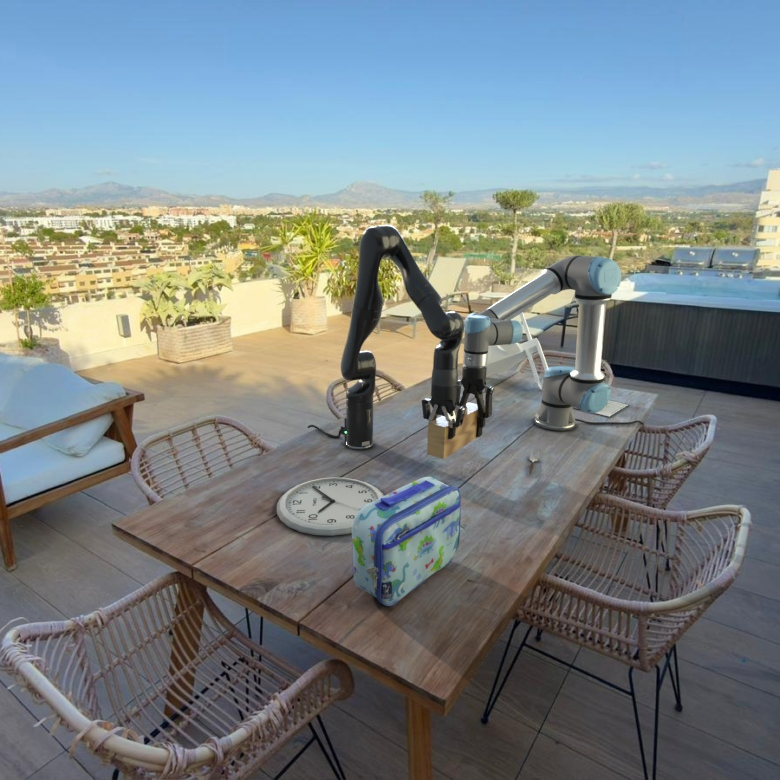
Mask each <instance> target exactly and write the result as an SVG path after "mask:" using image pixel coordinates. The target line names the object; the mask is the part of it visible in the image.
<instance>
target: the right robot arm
mask: <svg viewBox="0 0 780 780" xmlns="http://www.w3.org/2000/svg"><path fill="white" fill-rule="evenodd" d="M621 281H622V272H621V268H620V266H619V264H618V263H617V262H616V261H615V260H613V259H612V258H609V257H603V256H588V255H572V256H571V255H570V256H568V257H565V258H563V259H561V260H559V261H556V262H555V263H553V264H551V265H550V266H548V267H546V268H545V269H543V270H541V272H540V274H539V275H538V276H537V277H535V278H534V279H532V280H531V281H529V282H528V283H526V284H524V285H522V286H521V287H519V288H518V289H516V290H514V291H513V292H512V293H510V294H509V295H506V296H505V297H503V298H502V299H500V300H499V301H497V302H495V303H494V304H493V305H491V306H489V307H487V308H486V309H484V310H482V311H481V312H472V313H469V314H468V315H466V317H465V318H464V320H463V322H464V335H463V337H464V339H463V355H462V364H463V365H462V370H461V371H462V372H461V379H458V384H457V398H456V403H457V405H458V406H462V405H464V404H466V403H468V399H469V396H470V395H471V394H472V395H474V398H475V400H476V404H477V406H478V411H479V416H480V417H479V418H477V430H476V437H478V438H480V437H481V436H483V431H482V428H485V426H486V421H487V420H486V419H489V418H490V417H492V416H493V394H494V391H495V387H494V386H489V385H488V384H487V381H486V379H487V375H486V371H487V367H486V365H487V356H488V347H489V346H494V345H507V344H508V345H510V344H514V343H520V341H521V340H522V338H523V332H524V331H523V330H524V329H523V325H522V324H521V322H520V321H518V320H513V319H515V318H516V317H517V316H520V313H522V312H523V313H524V312H525V311H527V310H528V309H530V308H532V307H533V306H534V305H536V304H538V303H539V302H542V300H544V299H546V298H547V297H549V296H550V295H558V294H559V293H561V292H563V291H567V290H568V291H569V290H571V291H572V290H573V291H574V299H575V300H576V301H577V302H578V312H577V313H578V314H577V315H578V316H577V317H578V318H577V330H576V331H577V332H576V346H575V362H574V363H575V364H574V366H566V365H565V366H564V365H559V366H558V365H557V366H550V367H549V366H548V368H547V369H546V370H544V375H543V381H542V389H541V391H542V392H541V402H540V405H539V407H538V410H537V411H536V413H535V415H534V424H535V425H536V426H537V427H539V428H542V429H544V430H549V431H556V432H567V431H572V430H574V429H575V428H576V422H580V423H583V424H588V425H632V424H637V423H639V424H640V425H644V422H642V421H641V420H633V421H625V422H624V421H622V422H621V421H618V422H616V421H615V422H614V421H599V422H597V421H596V422H594V421H587V420H584V419H579V418H575V417H576V416H575V413H574V409H576V408H577V409H576V410H579V411H581V412H583V413H588V414H596V412H599V411H600V410H602V409H603V408H604V407H605V406H606V405H607V403H608V401H609V400H610V399H611V396H612V390H611V387H610V386H609V385H608V383H605V379H606V374H605V373H604V372H603V371H602V370H601V369H602V361H603V360H602V358H603V347H604V334H605V333H604V332H605V322H606V321H605V320H606V310H607V303H608V302H609V301H610V300H611V299H612V297H613V294H614V293H615V292H617V290H618V288H619V287H620V286H621ZM462 387H463V391H462ZM483 391H484V392H483ZM461 392H462V394H461ZM484 393H485V395H484ZM484 396H485V397H484ZM574 407H575V408H574Z"/></svg>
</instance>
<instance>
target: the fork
mask: <svg viewBox="0 0 780 780" xmlns="http://www.w3.org/2000/svg"><path fill="white" fill-rule="evenodd" d="M538 460H539V453H537V452H535V451H533V450H531V452H530V456H529V461H531V463H530V465H529V475H531V474H532V472H533V470H534V462H538Z"/></svg>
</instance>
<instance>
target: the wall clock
mask: <svg viewBox="0 0 780 780" xmlns="http://www.w3.org/2000/svg"><path fill="white" fill-rule="evenodd" d="M383 496H385V494H384V493H383V492H382V491H381V490H380V489H379V488H377V487H376V486H374V485H372V484H371V483H369V482H365V481H362V480H359V479H355V478H349V477H338V476H337V477H335V476H333V477H332V476H331V477H322V478H317V479H312V480H307V481H305V482H302V483H299V484H297V485H295V486H293V487H292V488H290V489H288V490H287V491H286V492H285V493H284V494H283V495H281V496H280V498H279V499H278V502H277V503H276V515H277V517H278V518H279V520H280V521H281V522H282V523H283V524H285V525H286V526H287V527H288V528H290V529H293V530H295V531H297V532H299V533H303V534H308V535H312V536H327V537H328V536H329V537H331V536H332V537H333V536H342V535H350V534H352V526H353V521H354V518H355V516H356V515H357V513H358V512H359V510H360V509H361V508H362V507H364V506H365V505H367V504H369V503H371V502H373V501H375V500H377V499H379V498H381V497H383Z"/></svg>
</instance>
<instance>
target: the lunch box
mask: <svg viewBox="0 0 780 780" xmlns="http://www.w3.org/2000/svg"><path fill="white" fill-rule="evenodd" d="M461 499H462V497H461V491H460V489H459V488H458V487H457V486H455V485H450V486H449V485H447V484H445V483H444V482H442V481H440V480H438V479H436V478H434V477H432V476H424V477H421V478H419V479H416V480H414V481H412V482H410V483H407V484H405V485H404V486H401V487H399V488H397V489H395V490H392V491H391V492H390V493H386V494H384V496H383V497H381V498H379V499H377V500H375V501H373V502H371V503H369V504H367V505H365V506H364V507H362V508H361V509H360V510H359V512H358V513H357V515H356V516H355V518H354V521H353V526H352V533H351V550H352V576H353V581H354V584H355V587H356V588H358V589H360V590H362V591H364V592H366V593H368V594H370V596H372V597H374V598H375V599H377V601H378V603H379V604H382V605H383V606H385V607H393V606H394V605H396V604H397V603H399V602H400V601H402V599H404V598H405V597H406V596H407V595H409V594H410V593H411V592H413V591H414V590H415V589H416V588H418V587H419V586H420V585H422V584H423V583H424V582H425V581H427V580H428V579H429V578H430V577H432V575H434V574H435V573H437V572H439V571H441V570H442V569H443V568H445V567H446V566H448V565H449V564H450V562H452V560H453V559H454V557H455V555H456V553H457V551H458V549H459V544H460V537H461V519H462V515H461V513H462V512H461V510H462V507H461V505H462V504H461V503H462V502H461Z"/></svg>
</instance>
